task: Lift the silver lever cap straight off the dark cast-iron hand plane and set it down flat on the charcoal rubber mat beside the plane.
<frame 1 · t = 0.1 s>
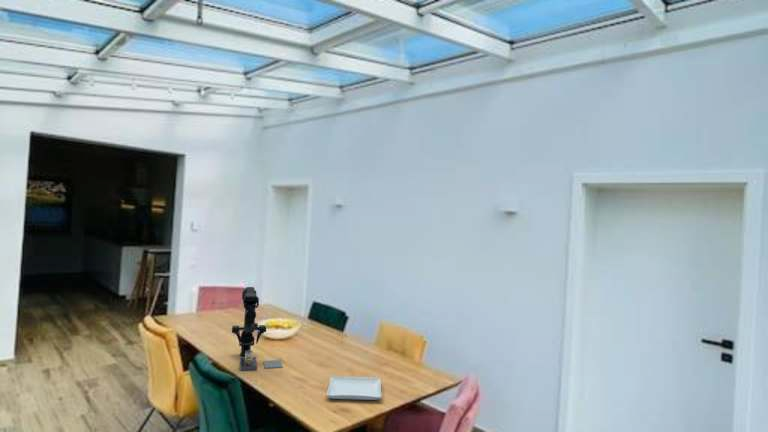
hand: (248, 343, 262), 14 cm above the table, tool pointing down, fingers open, 9 cm apart
lever cap: (248, 360, 268), point 3 cm above the table, touching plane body
rest mat: (272, 364, 273), on the table
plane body: (248, 365, 268), on the table
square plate: (354, 393, 237), on the table
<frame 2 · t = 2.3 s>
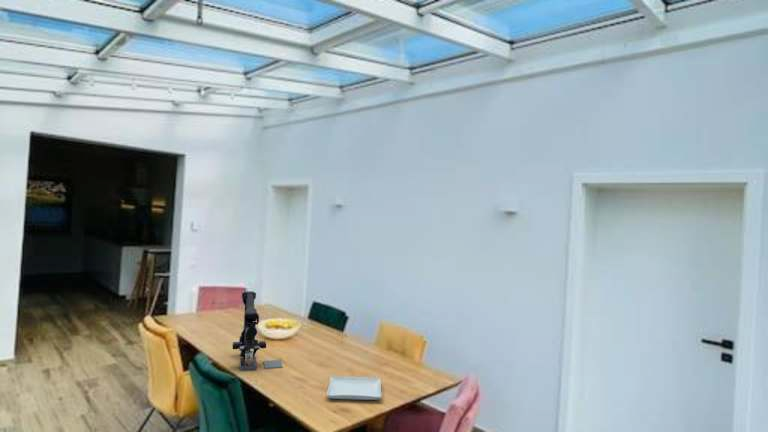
hand: (248, 359, 268), 4 cm above the table, tool pointing down, fingers closed on lever cap, 4 cm apart
lever cap: (248, 360, 268), point 3 cm above the table, touching gripper, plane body
everything else where it was.
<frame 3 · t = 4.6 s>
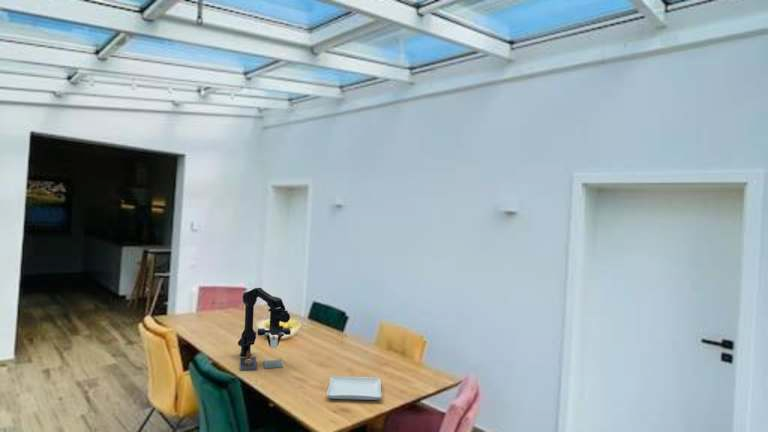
hand: (273, 346, 273), 11 cm above the table, tool pointing down, fingers closed on lever cap, 4 cm apart
lever cap: (273, 347, 272), point 11 cm above the table, touching gripper
everything else where it was.
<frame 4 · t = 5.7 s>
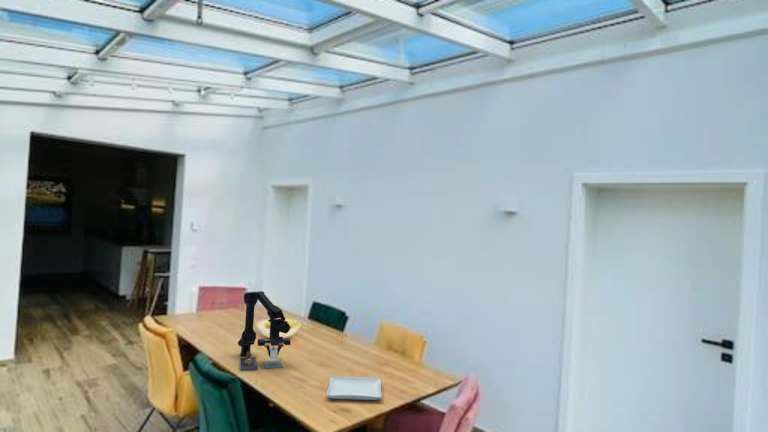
hand: (273, 356, 273), 5 cm above the table, tool pointing down, fingers closed on lever cap, 4 cm apart
lever cap: (273, 357, 273), point 4 cm above the table, touching gripper
everything else where it was.
when the fingers open (3 cm above the table, at t = 6.8 s): lever cap drops 2 cm, resting on rest mat.
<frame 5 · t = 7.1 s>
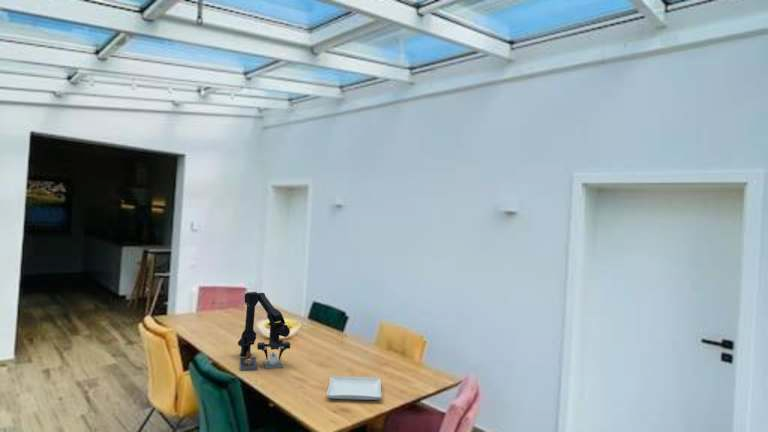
hand: (273, 360, 273), 3 cm above the table, tool pointing down, fingers open, 7 cm apart
lever cap: (272, 363, 273), point 1 cm above the table, touching rest mat
everything else where it was.
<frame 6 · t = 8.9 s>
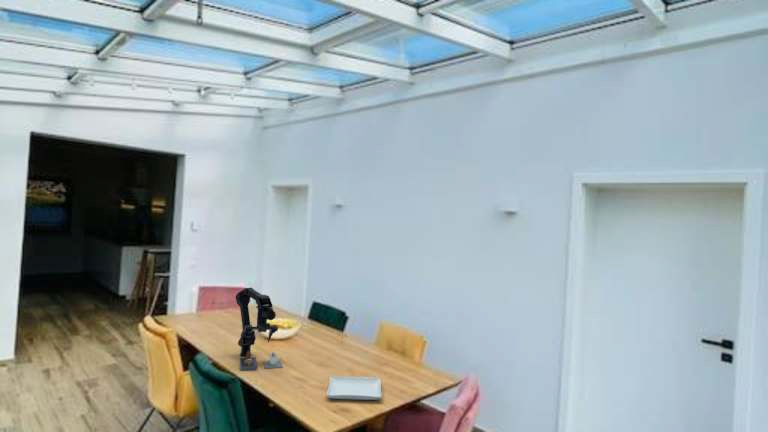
hand: (260, 342, 277), 12 cm above the table, tool pointing down, fingers open, 9 cm apart
nothing on the table moved.
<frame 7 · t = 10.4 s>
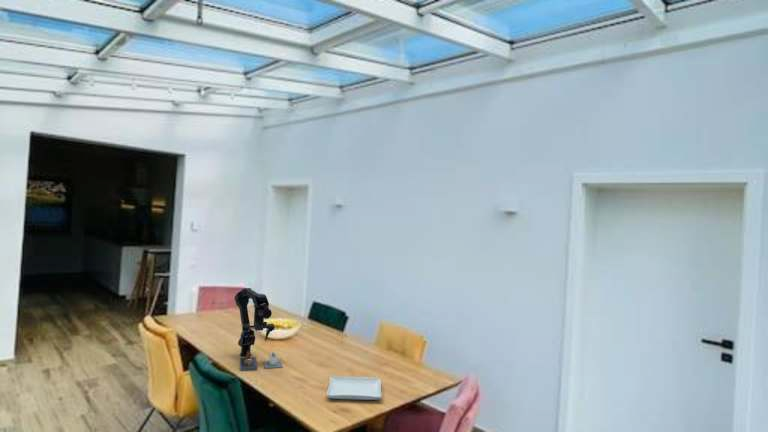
hand: (257, 341, 278), 12 cm above the table, tool pointing down, fingers open, 9 cm apart
nothing on the table moved.
at the end: lever cap inside the target area on the rest mat (0.1 cm from its centre), point 0.6 cm above the rest mat's base; lever cap tilted 0°; the gripper is holding nothing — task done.
